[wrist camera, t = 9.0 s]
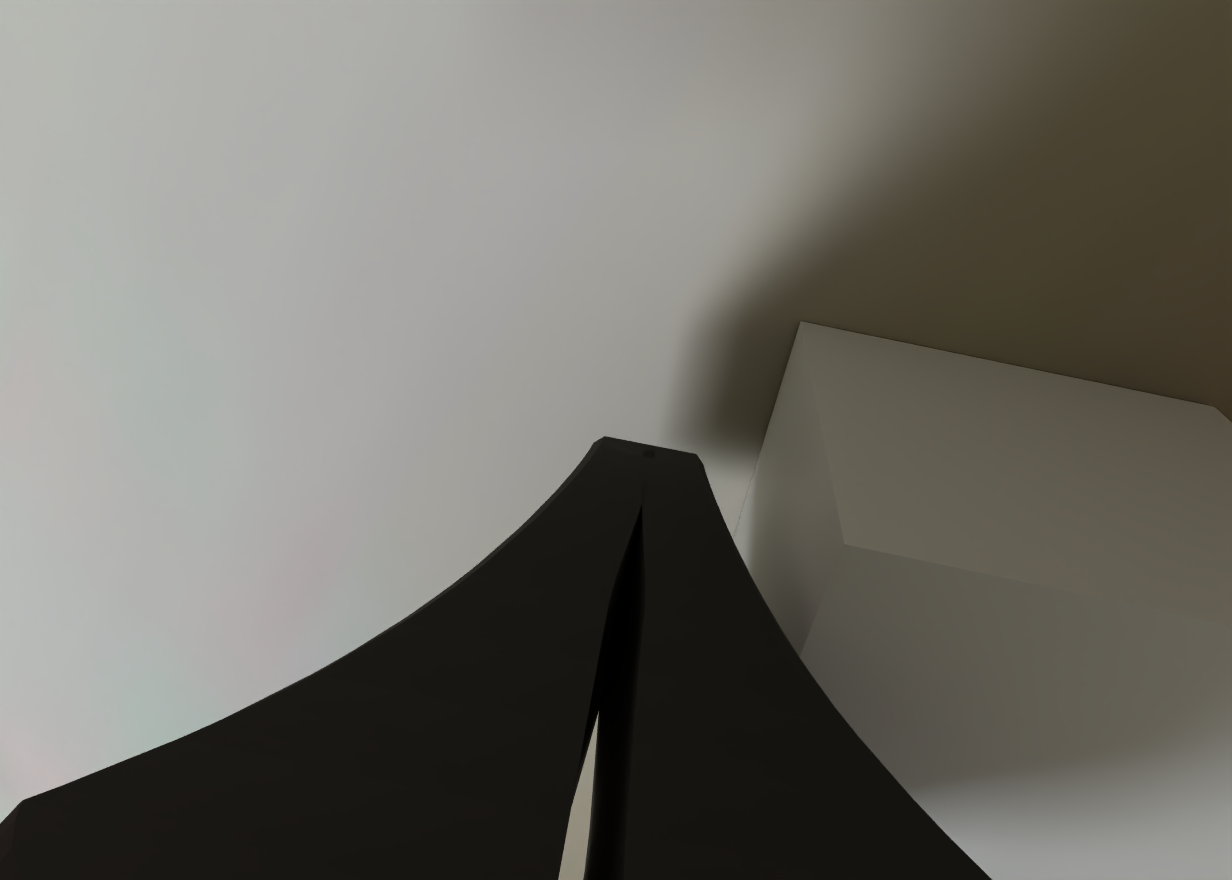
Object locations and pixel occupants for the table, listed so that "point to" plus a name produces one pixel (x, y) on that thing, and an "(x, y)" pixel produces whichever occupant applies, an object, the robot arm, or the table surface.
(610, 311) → the table surface
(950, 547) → the plug
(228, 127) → the table surface
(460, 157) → the table surface
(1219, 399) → the table surface
